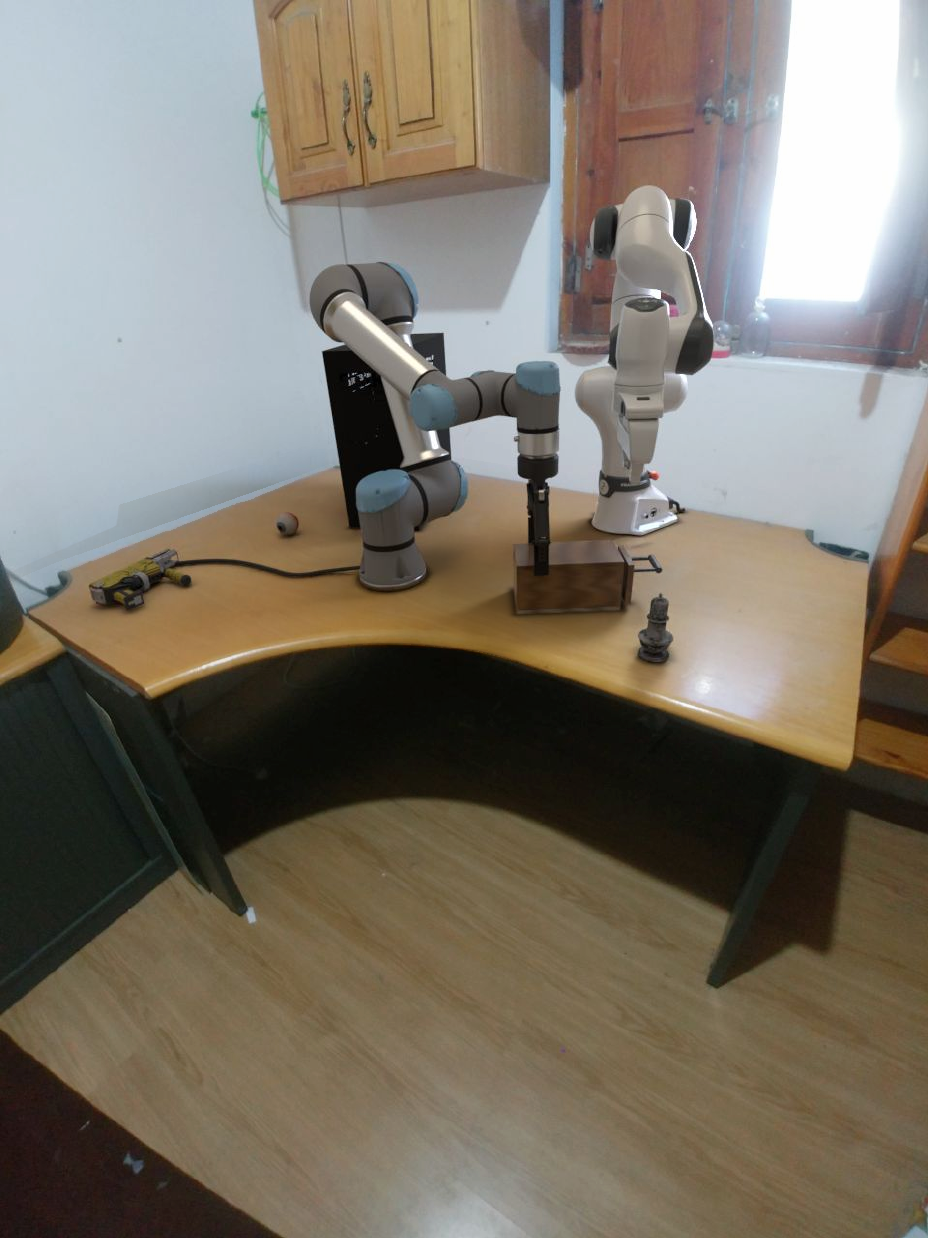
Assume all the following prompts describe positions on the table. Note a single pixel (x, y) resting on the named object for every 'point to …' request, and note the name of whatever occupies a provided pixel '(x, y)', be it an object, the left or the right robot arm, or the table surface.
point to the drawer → (630, 570)
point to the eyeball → (287, 523)
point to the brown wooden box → (569, 578)
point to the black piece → (369, 416)
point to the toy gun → (136, 580)
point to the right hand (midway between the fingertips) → (630, 475)
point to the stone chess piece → (656, 632)
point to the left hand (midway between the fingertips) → (537, 560)
